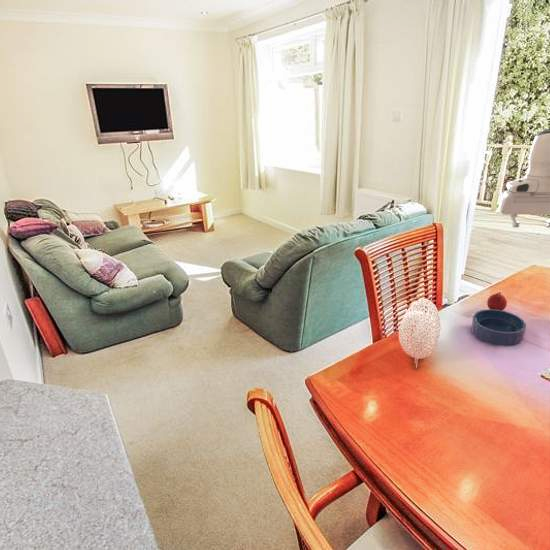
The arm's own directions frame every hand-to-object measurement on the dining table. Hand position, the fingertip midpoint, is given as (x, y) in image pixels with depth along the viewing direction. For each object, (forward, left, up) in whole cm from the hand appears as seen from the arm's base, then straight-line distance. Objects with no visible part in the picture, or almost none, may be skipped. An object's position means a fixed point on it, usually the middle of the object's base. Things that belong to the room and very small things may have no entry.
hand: (531, 227), depth 121 cm
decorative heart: (+36, +36, -29) cm, 59 cm away
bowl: (+11, +20, -29) cm, 37 cm away
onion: (+8, +6, -29) cm, 31 cm away
